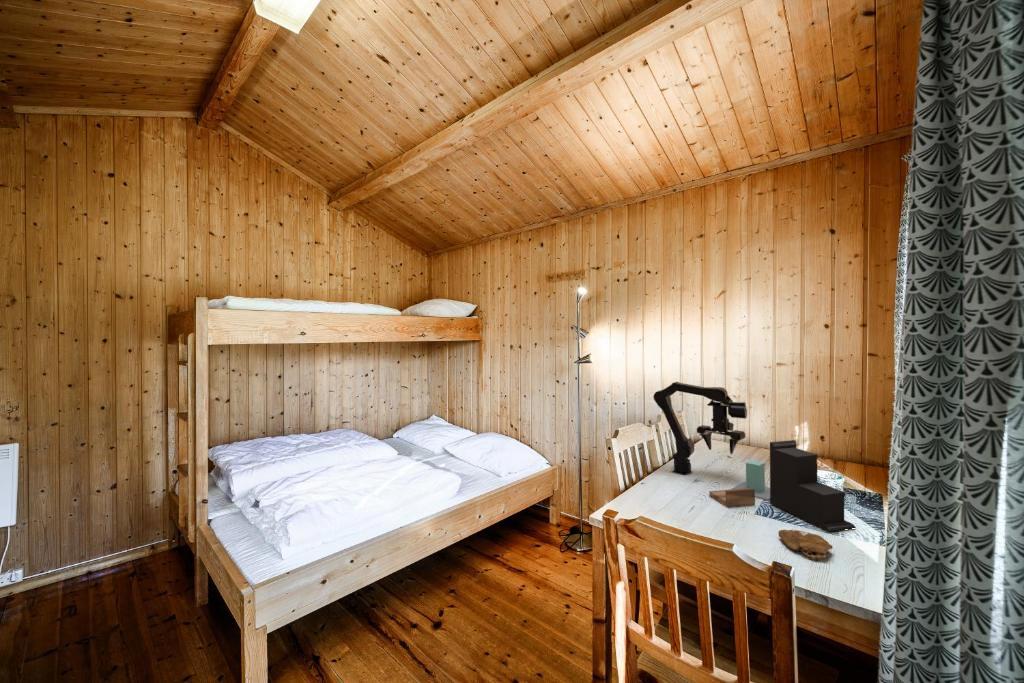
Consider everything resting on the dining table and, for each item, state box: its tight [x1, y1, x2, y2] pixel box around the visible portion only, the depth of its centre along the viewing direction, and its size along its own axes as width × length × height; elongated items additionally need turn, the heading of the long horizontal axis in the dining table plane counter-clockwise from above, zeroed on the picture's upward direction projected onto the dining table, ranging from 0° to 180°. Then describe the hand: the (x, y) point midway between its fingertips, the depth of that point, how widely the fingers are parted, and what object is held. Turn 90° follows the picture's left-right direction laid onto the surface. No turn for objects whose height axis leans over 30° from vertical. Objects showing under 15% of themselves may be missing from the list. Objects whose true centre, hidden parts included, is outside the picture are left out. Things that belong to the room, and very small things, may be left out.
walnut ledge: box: [709, 488, 756, 508], centre depth 157 cm, size 11×11×6 cm
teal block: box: [745, 459, 766, 493], centre depth 166 cm, size 5×5×11 cm
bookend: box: [769, 439, 857, 533], centre depth 143 cm, size 23×11×24 cm, turn 11°
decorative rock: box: [778, 529, 834, 561], centre depth 121 cm, size 11×4×15 cm
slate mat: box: [731, 481, 770, 501], centre depth 166 cm, size 14×14×1 cm
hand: (720, 451), depth 181 cm, fingers open, 9 cm apart
